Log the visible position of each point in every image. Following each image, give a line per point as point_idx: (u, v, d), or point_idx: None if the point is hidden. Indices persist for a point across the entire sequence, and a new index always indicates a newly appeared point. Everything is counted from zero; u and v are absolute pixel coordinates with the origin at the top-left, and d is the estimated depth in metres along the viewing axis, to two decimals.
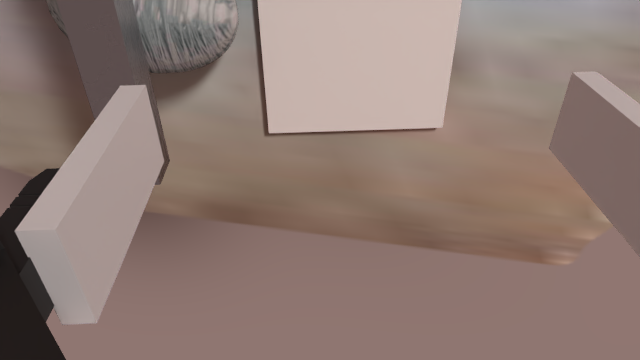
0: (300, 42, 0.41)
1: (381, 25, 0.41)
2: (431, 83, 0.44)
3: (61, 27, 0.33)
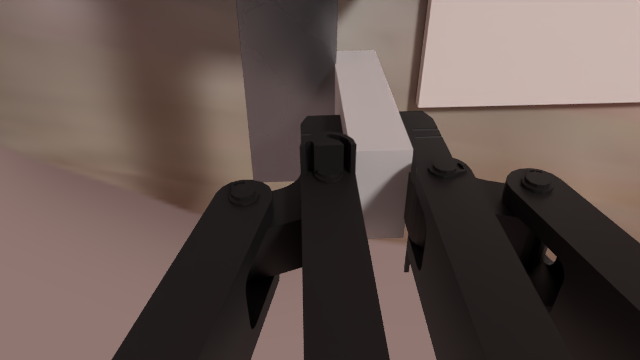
0: None
1: None
2: None
3: None
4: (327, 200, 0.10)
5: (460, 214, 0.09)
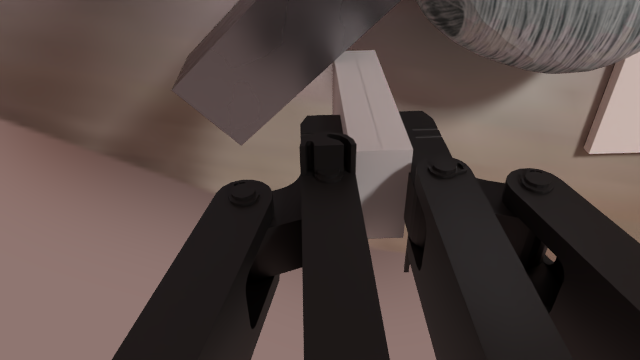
0: None
1: None
2: None
3: (463, 2, 0.22)
4: (327, 200, 0.10)
5: (460, 214, 0.09)
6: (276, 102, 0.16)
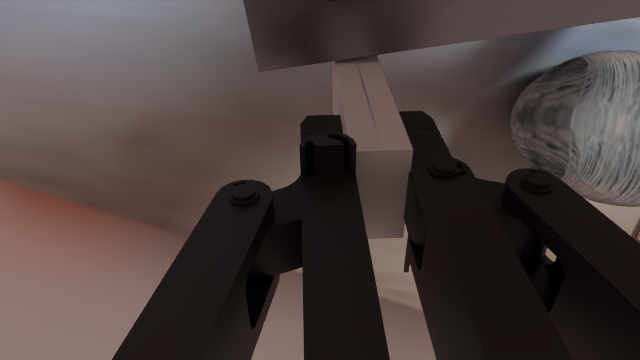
0: None
1: None
2: None
3: (566, 166, 0.27)
4: (327, 200, 0.10)
5: (460, 214, 0.09)
6: (323, 53, 0.15)
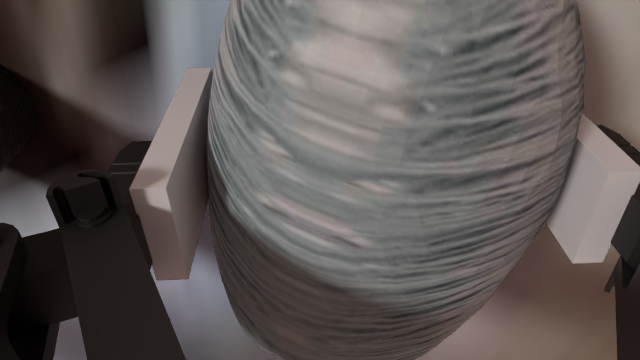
0: None
1: None
2: None
3: None
4: (97, 245, 0.09)
5: None
6: None
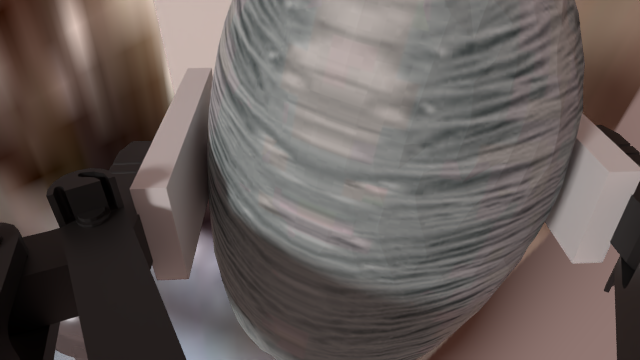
0: None
1: None
2: None
3: None
4: (97, 245, 0.09)
5: None
6: None
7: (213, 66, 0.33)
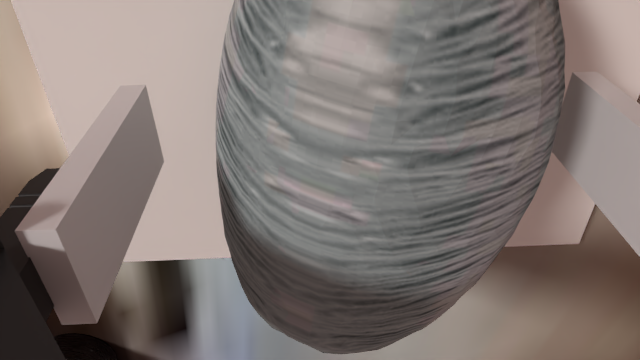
0: None
1: None
2: None
3: None
4: None
5: None
6: None
7: (166, 224, 0.21)
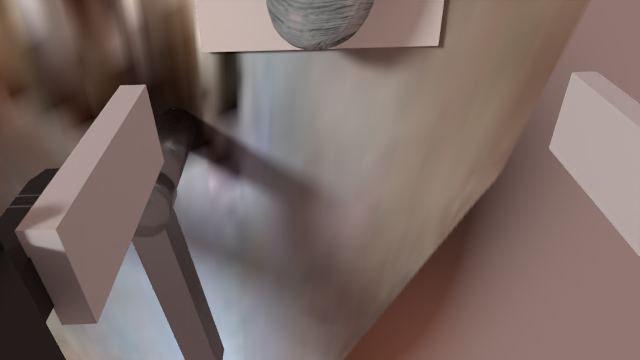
0: None
1: None
2: None
3: (333, 42, 0.37)
4: None
5: None
6: None
7: (233, 28, 0.43)
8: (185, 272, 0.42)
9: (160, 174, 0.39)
